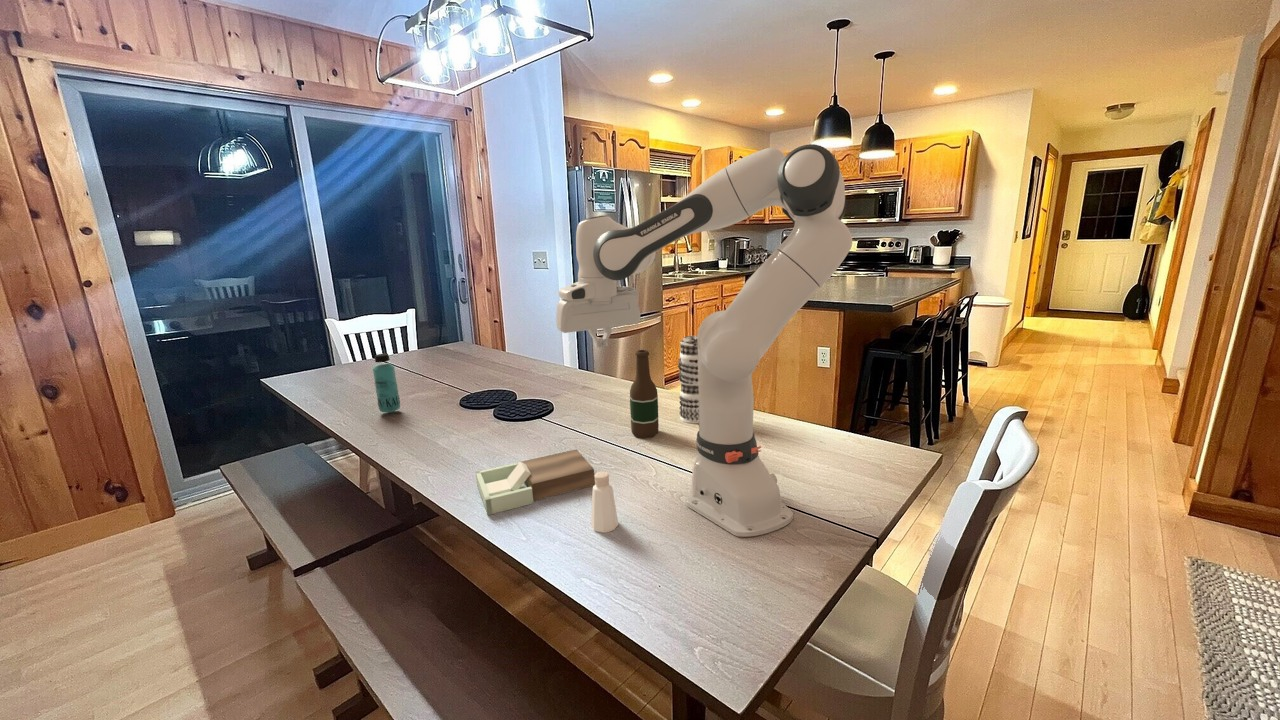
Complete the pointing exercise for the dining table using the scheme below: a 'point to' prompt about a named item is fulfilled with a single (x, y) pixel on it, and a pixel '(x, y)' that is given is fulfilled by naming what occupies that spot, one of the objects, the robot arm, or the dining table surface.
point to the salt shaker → (603, 505)
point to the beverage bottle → (386, 385)
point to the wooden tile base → (558, 474)
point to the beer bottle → (643, 400)
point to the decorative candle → (689, 380)
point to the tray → (505, 499)
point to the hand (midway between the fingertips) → (601, 346)
